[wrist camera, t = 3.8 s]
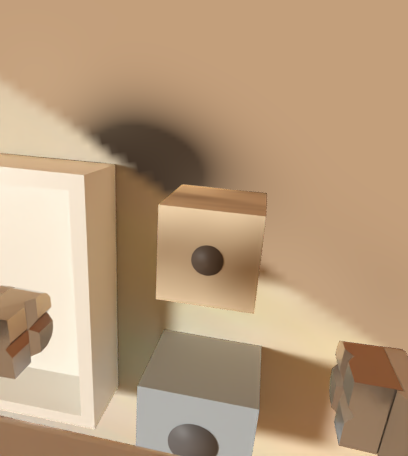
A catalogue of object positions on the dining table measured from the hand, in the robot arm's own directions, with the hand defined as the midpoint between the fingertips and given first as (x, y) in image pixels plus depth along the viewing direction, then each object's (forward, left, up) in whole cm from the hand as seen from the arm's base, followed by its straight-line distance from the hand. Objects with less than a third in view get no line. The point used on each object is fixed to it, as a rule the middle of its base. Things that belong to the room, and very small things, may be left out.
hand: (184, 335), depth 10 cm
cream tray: (-5, +14, -10) cm, 18 cm away
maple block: (0, 0, -10) cm, 10 cm away
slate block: (-10, 0, -10) cm, 15 cm away
